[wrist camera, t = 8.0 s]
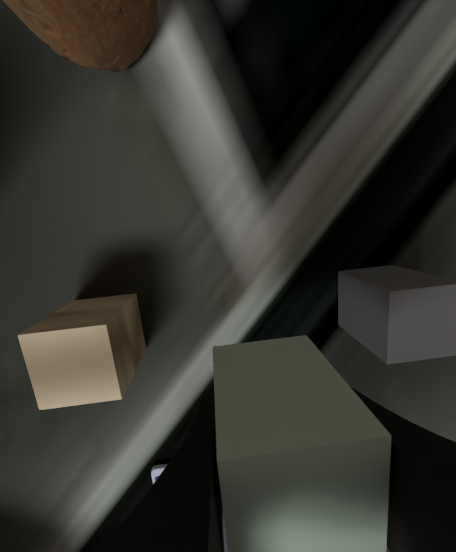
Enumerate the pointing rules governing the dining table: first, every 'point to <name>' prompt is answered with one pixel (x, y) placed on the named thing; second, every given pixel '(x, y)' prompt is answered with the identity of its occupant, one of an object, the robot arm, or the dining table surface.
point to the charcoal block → (398, 312)
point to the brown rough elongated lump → (91, 29)
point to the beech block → (84, 351)
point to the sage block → (297, 452)
